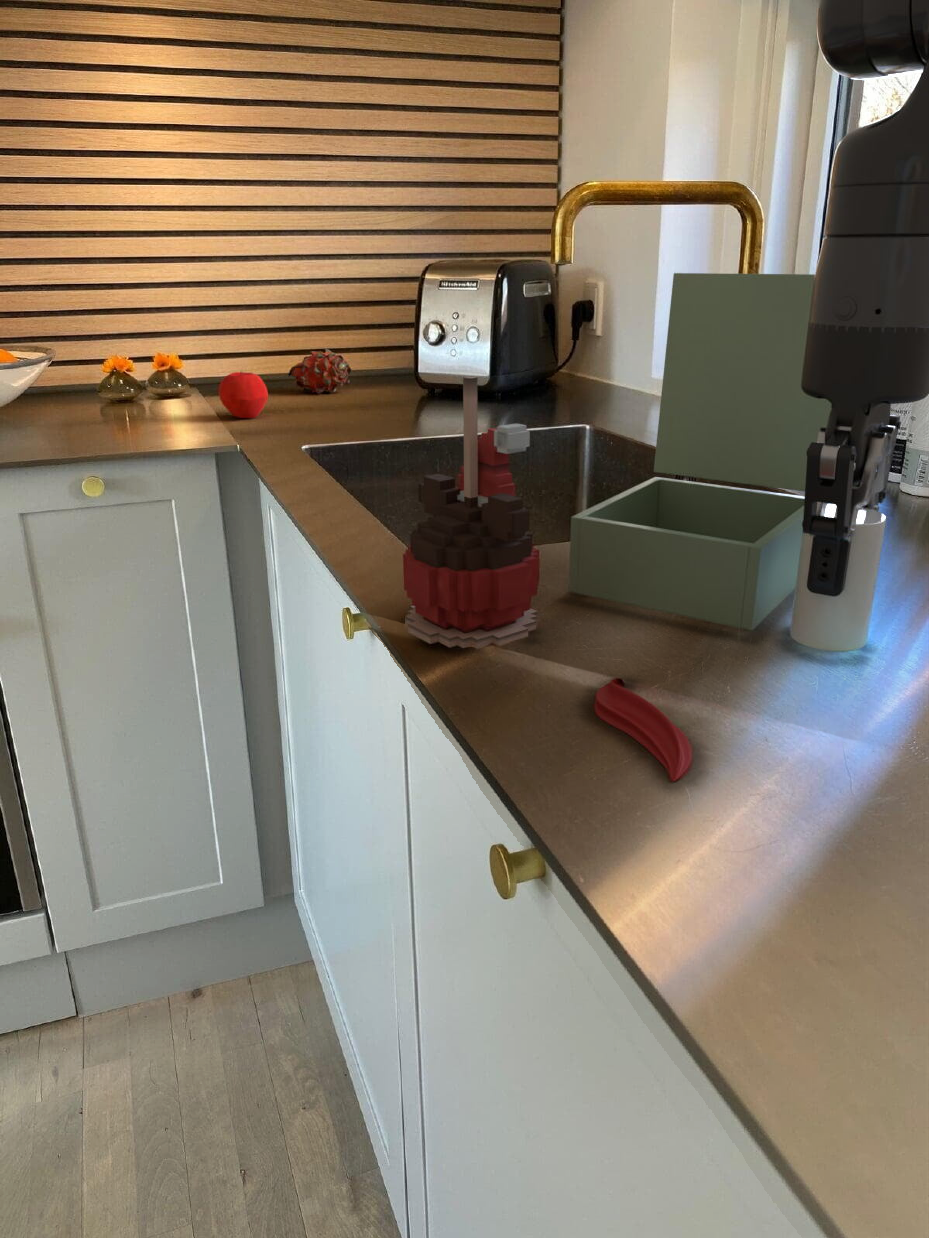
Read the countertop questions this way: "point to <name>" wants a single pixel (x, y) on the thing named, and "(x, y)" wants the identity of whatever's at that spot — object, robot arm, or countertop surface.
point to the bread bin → (690, 550)
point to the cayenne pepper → (645, 726)
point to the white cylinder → (850, 612)
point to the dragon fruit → (321, 372)
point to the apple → (243, 394)
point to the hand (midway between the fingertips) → (836, 579)
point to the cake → (473, 545)
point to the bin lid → (738, 380)
